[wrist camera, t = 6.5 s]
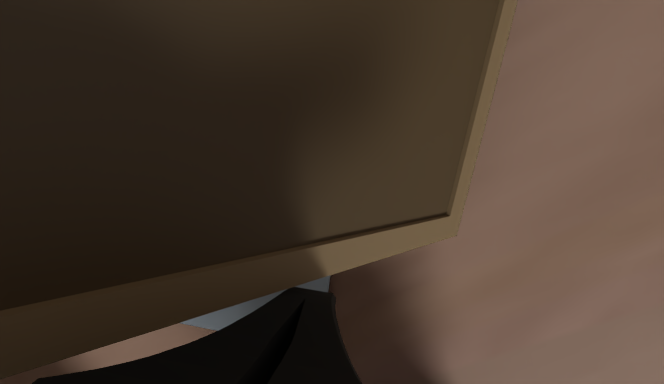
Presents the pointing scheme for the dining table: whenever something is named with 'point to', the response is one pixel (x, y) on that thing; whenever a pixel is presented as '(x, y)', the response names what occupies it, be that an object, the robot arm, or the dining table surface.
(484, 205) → the dining table surface
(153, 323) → the photo frame
